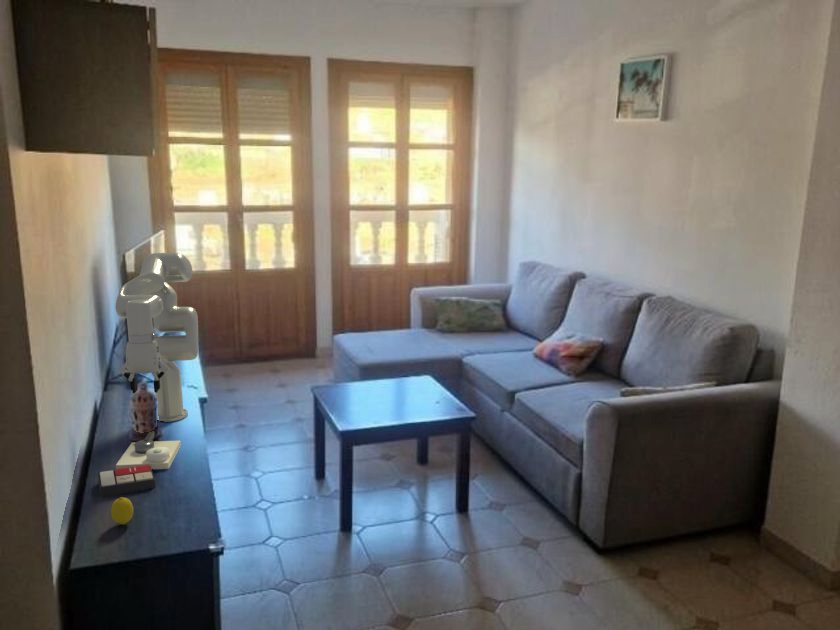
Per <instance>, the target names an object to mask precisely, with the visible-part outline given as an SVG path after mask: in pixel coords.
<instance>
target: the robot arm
mask: <svg viewBox="0 0 840 630" xmlns="http://www.w3.org/2000/svg"><path fill="white" fill-rule="evenodd" d="M192 276H193V266H192V263H191V261H190V260H189V259H188V257H187V256H186V255H184V254H182V253H180V252H153V253H150V254H148V255H146V257H145V258H144V260H143V263H142V265H141V269H140V273H139V275H138V276H136V277H134V278H132V279H130V280H129V281H127V282H126V283H124V284H123V285H122V286H121V288H120V290H119V291H118V295H117V296H116V301H115V311H116V314H117V315H118V317H120V318H122V319H126V324H127V334H128V341H127V343H126V346H125V348H126V349H125V362H124V364H123V365H122V366H121V367H120V368H119V369H118V372H119V373H120V374H121V375H123V377H124V378H126V379H127V380H128V381H129V383H130V390H131V391H132V394H135V393H137V391H138V380H137V378H136V375H137V374H151V375H152V377H153V390H154V394H155V395H154V396H155V399H156V398H157V401H158V416H159V421H158V422H160V421H164V423H167V422H168V423H169V422H170V423H171V422H176V421H180V420H183V419H184V418H186V417H187V416H189V415H188V414H189V412H188V410H187V409H186V408H184V401H183V388H182V376H181V374H182V373H181V370H180V367H179V366H178V365H177V363H176V362H179V361H180V362H181V361H193V360H196V359H197V357H198V355H199V317H198V312H197V311H196V308H194V307H192V306H178V294H177V292H176V290H175V289H174V288H173V287H172V286H171V285H170V284H169V283H186V282H189V281H191V279H192ZM154 330H155V331H157V332H158V333H185V334H182V335H181V334H180V335H179V334H178V335H174V334H173V335H160V336H159V334H158V333H155V331H154Z"/></svg>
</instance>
